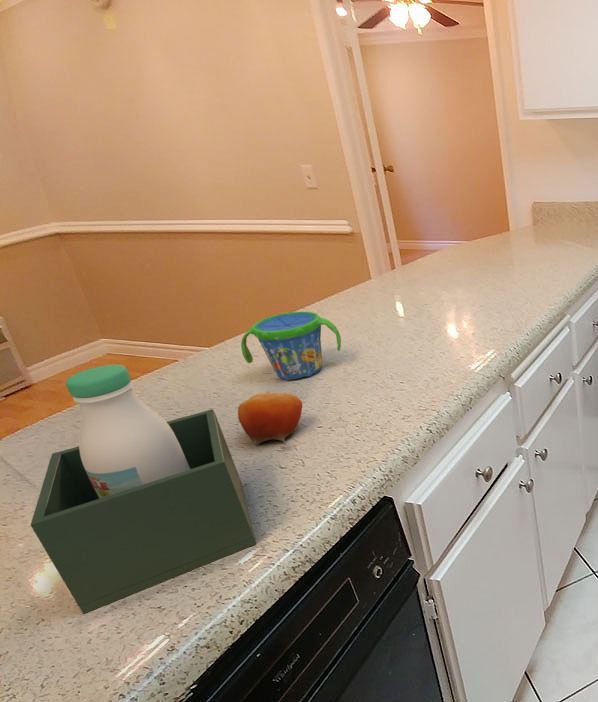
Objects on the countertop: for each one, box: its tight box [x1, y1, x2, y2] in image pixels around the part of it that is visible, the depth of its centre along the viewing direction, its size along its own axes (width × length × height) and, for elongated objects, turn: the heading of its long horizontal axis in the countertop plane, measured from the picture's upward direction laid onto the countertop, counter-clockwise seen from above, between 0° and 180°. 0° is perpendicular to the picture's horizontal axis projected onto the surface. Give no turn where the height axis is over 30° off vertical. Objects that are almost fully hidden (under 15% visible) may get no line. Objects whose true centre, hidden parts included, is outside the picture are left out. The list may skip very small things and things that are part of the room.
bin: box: [30, 408, 257, 614], centre depth 61 cm, size 15×15×11 cm
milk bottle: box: [65, 364, 190, 499], centre depth 59 cm, size 8×8×20 cm
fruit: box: [237, 392, 303, 446], centre depth 82 cm, size 8×8×8 cm
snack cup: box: [240, 311, 342, 381], centre depth 101 cm, size 16×10×10 cm
